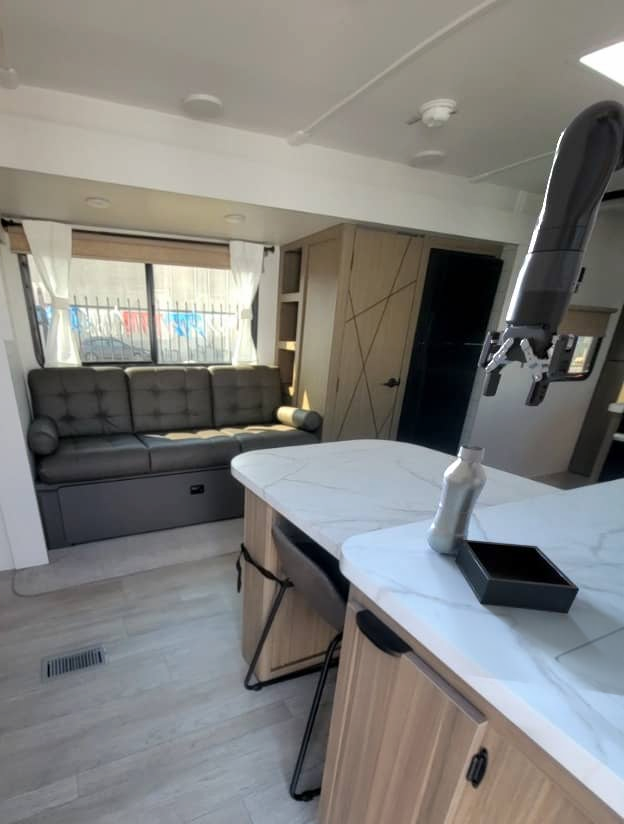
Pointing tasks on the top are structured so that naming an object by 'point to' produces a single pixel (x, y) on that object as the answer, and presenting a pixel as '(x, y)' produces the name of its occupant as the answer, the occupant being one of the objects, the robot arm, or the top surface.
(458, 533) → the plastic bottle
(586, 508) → the top surface
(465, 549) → the dark square tray
